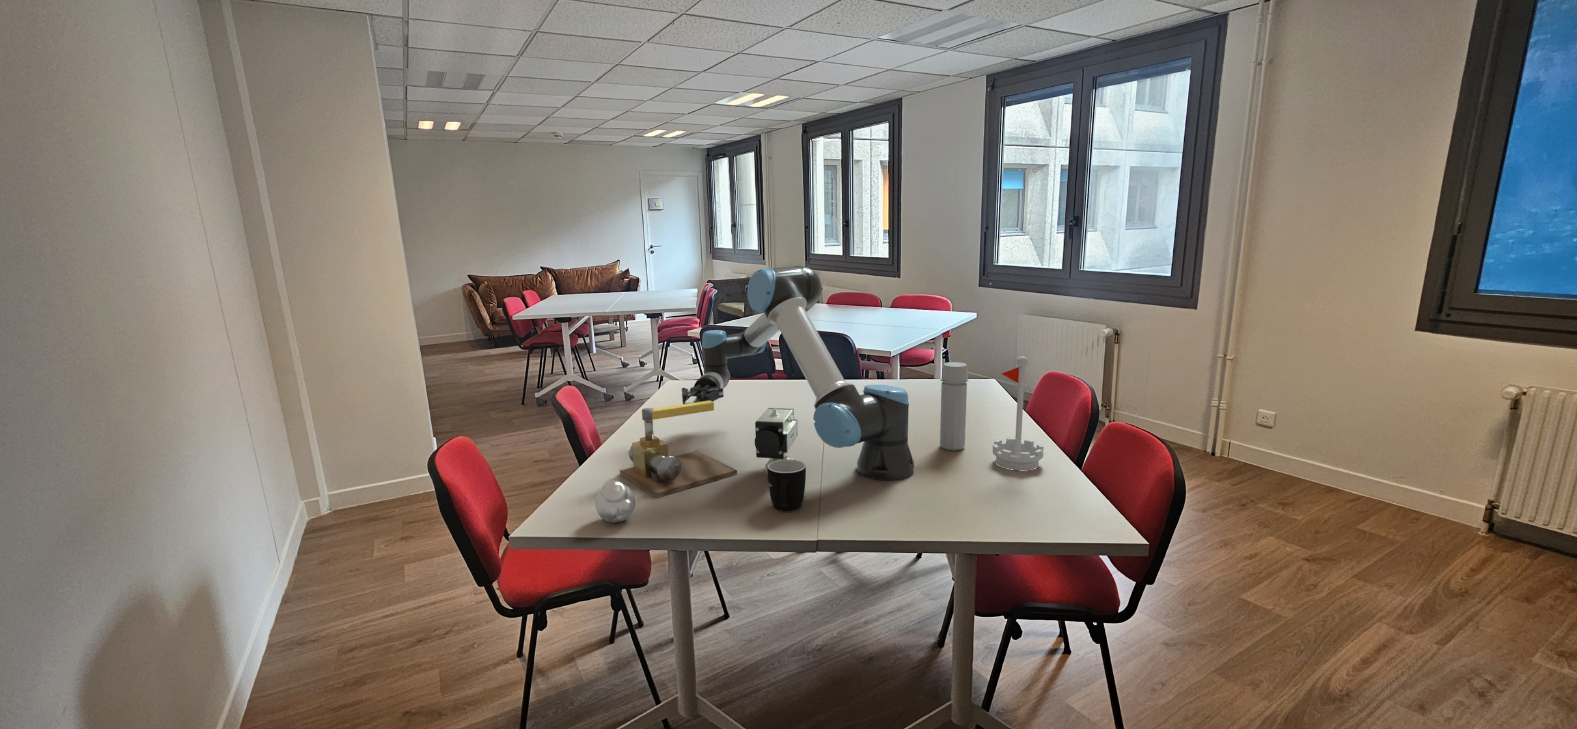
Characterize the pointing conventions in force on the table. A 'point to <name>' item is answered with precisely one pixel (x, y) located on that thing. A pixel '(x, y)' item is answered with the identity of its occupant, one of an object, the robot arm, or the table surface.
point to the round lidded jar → (615, 502)
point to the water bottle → (953, 406)
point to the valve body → (653, 457)
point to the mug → (787, 484)
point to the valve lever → (676, 410)
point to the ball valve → (775, 434)
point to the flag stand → (1018, 432)
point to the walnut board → (683, 474)
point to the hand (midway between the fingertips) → (687, 407)
